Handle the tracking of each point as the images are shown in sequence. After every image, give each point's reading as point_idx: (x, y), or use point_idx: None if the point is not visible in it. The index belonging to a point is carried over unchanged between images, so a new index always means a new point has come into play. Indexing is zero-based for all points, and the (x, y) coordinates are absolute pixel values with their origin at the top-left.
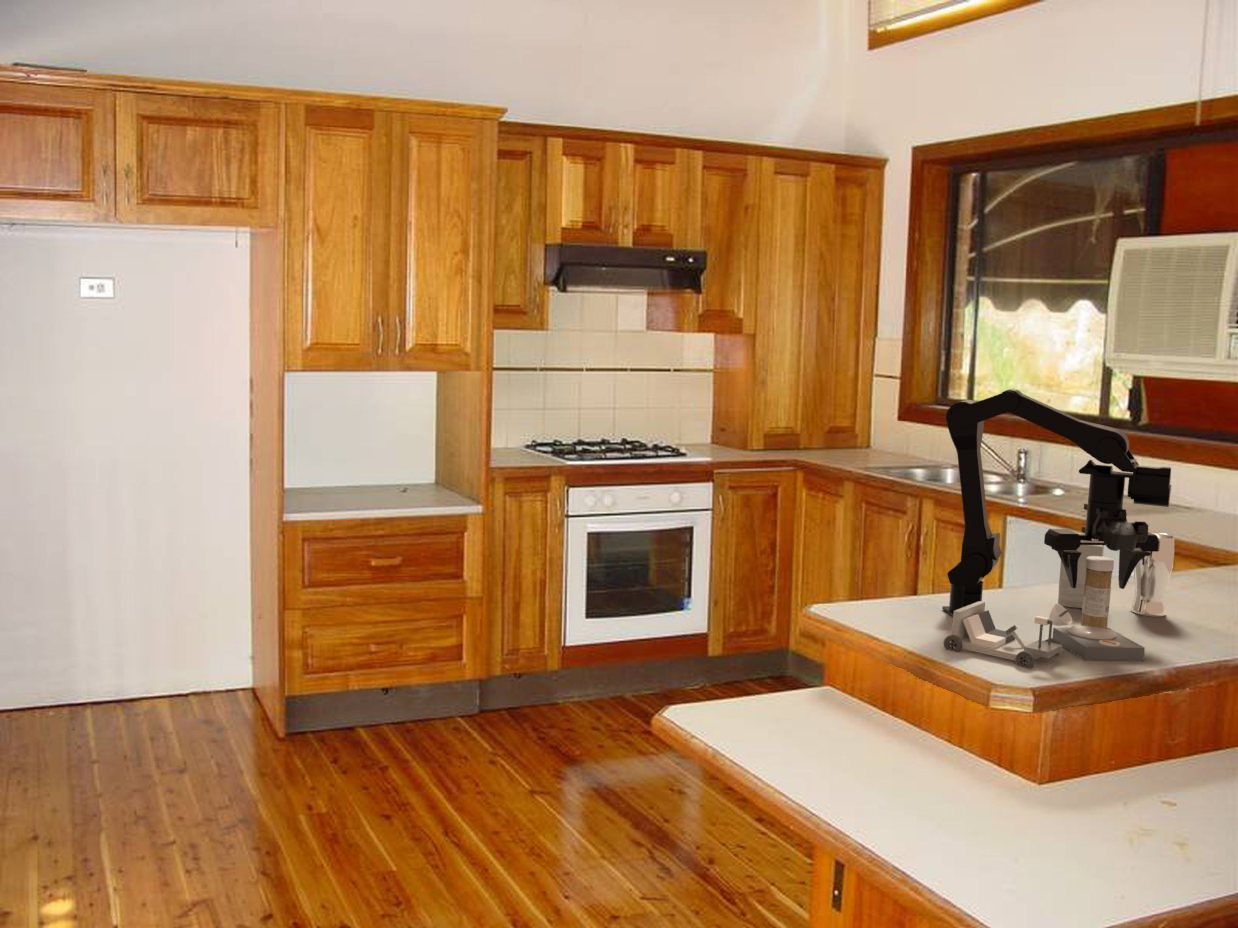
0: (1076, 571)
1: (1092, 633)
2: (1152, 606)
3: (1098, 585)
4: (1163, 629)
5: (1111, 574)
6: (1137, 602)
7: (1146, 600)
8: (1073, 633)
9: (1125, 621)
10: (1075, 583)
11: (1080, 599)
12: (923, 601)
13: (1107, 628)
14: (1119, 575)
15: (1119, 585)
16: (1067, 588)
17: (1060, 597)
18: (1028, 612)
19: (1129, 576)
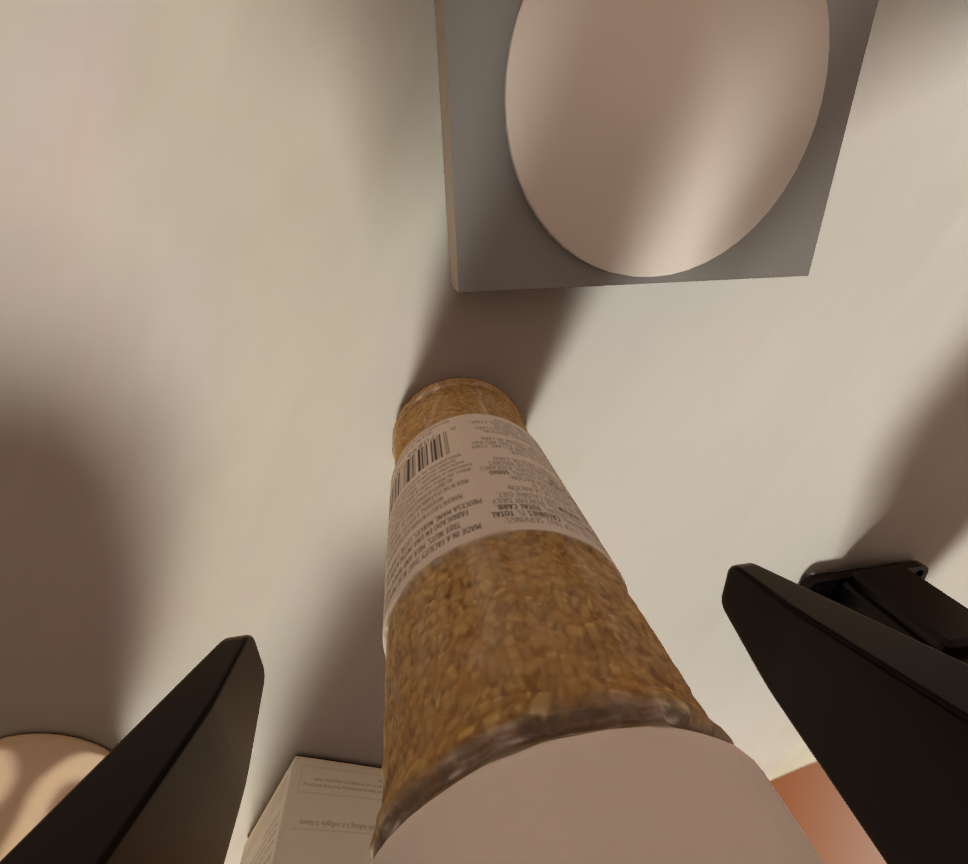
0: (940, 692)
1: (703, 35)
2: (4, 789)
3: (579, 555)
4: (18, 539)
5: (409, 743)
6: None
7: (20, 826)
8: (824, 60)
9: (209, 638)
10: (779, 587)
11: (357, 804)
12: None
13: (473, 275)
14: (222, 833)
15: (259, 690)
16: None
17: None
18: None
19: (88, 781)
